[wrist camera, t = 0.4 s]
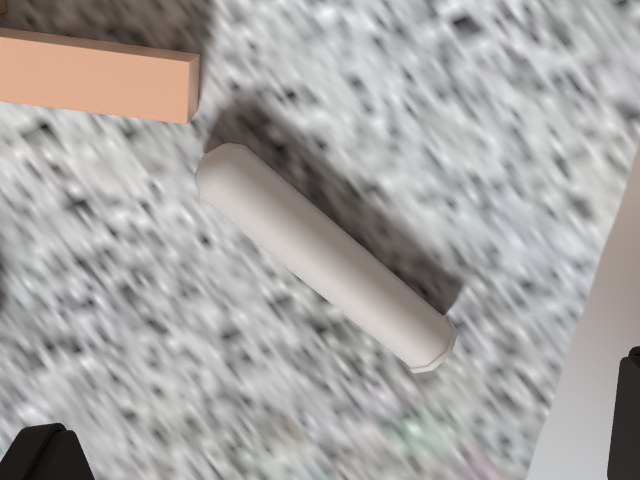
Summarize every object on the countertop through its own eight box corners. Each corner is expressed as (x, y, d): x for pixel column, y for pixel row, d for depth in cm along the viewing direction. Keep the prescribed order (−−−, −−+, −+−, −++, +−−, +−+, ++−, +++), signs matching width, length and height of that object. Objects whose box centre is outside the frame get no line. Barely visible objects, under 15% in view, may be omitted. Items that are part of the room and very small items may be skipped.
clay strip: (-36, 21, 38) (-77, 26, 34) (200, 53, 39) (189, 62, 35) (-28, 81, 39) (-66, 93, 35) (198, 109, 41) (187, 124, 37)
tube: (170, 196, 39) (408, 382, 47) (211, 151, 36) (458, 358, 44) (197, 158, 43) (411, 336, 51) (235, 116, 40) (457, 311, 48)
